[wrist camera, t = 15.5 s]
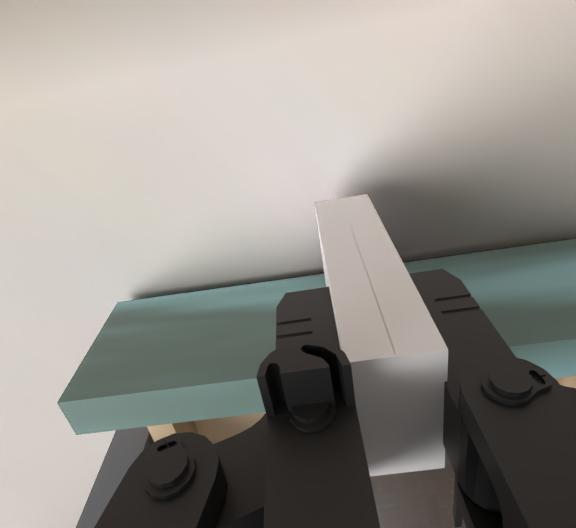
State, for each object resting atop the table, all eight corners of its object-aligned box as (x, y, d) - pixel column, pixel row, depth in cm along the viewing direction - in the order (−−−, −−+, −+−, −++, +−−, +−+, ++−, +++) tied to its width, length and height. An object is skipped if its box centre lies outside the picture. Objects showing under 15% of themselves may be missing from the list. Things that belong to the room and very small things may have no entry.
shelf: (532, 541, 22) (585, 650, 18) (232, 569, 23) (222, 677, 19) (605, 234, 13) (736, 318, 9) (117, 302, 14) (57, 402, 10)
